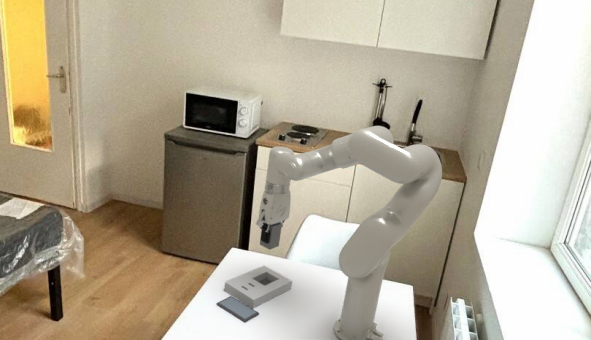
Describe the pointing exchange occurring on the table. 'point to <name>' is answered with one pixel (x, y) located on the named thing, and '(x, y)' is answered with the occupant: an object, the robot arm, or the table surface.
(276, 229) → the block
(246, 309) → the phone
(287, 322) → the table surface
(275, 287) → the outlet plate
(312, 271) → the table surface
